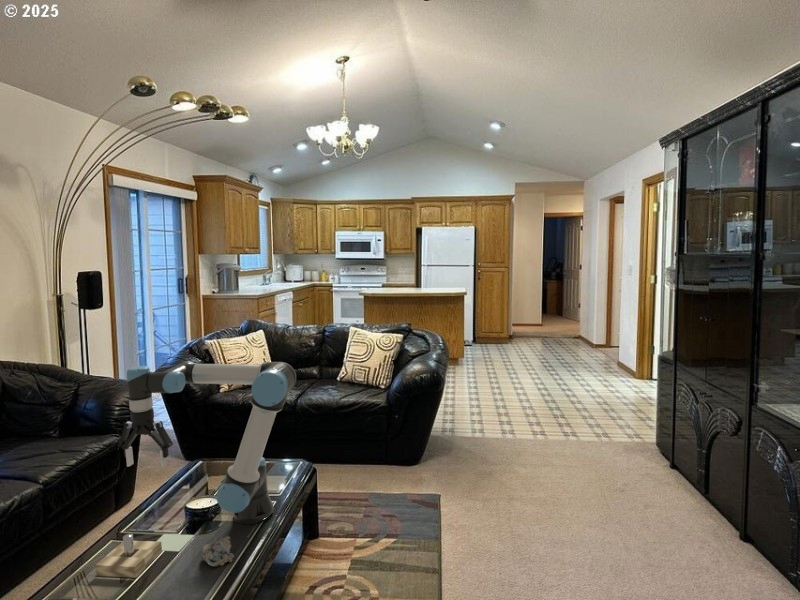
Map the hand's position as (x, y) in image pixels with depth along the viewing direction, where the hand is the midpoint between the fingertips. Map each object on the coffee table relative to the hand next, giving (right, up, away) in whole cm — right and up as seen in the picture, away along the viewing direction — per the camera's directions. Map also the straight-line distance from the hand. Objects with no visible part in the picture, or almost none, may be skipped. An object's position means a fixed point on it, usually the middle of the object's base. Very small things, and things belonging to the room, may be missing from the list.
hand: (147, 465), depth 186 cm
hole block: (+2, -28, -15) cm, 32 cm away
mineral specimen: (+31, -27, -15) cm, 44 cm away
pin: (+2, -28, -15) cm, 32 cm away
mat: (+10, -27, -4) cm, 29 cm away
